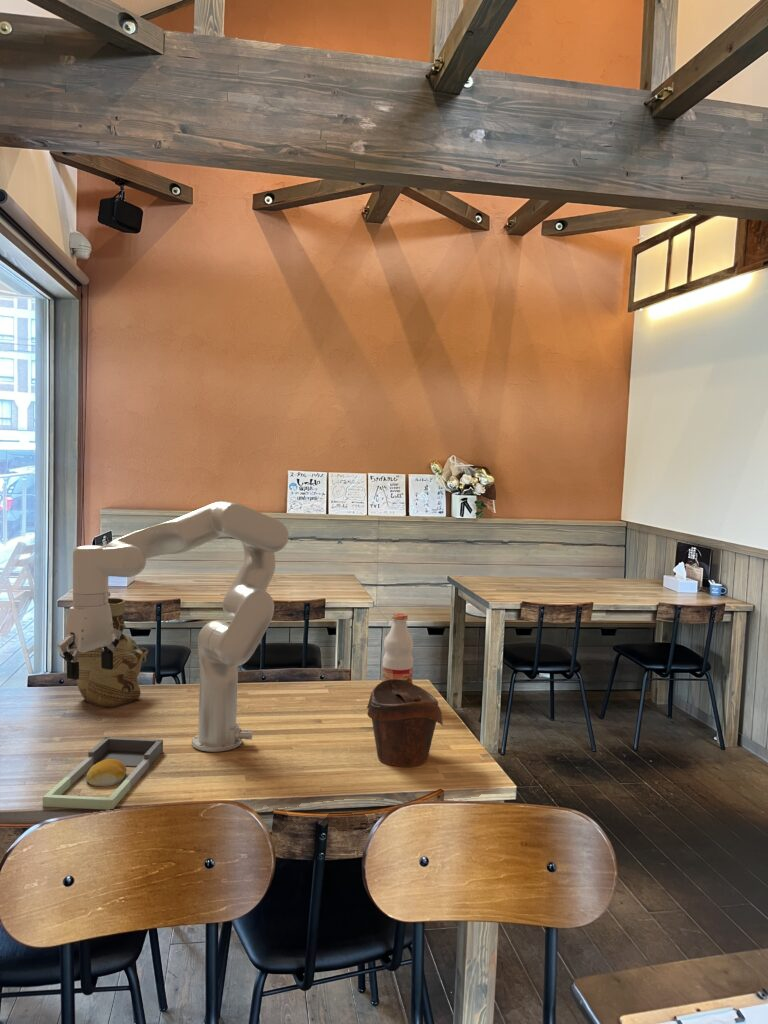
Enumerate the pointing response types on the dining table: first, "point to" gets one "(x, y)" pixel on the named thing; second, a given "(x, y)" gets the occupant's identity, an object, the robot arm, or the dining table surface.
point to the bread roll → (106, 773)
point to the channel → (120, 749)
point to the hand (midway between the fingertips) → (90, 673)
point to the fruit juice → (398, 651)
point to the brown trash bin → (403, 722)
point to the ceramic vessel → (122, 679)
